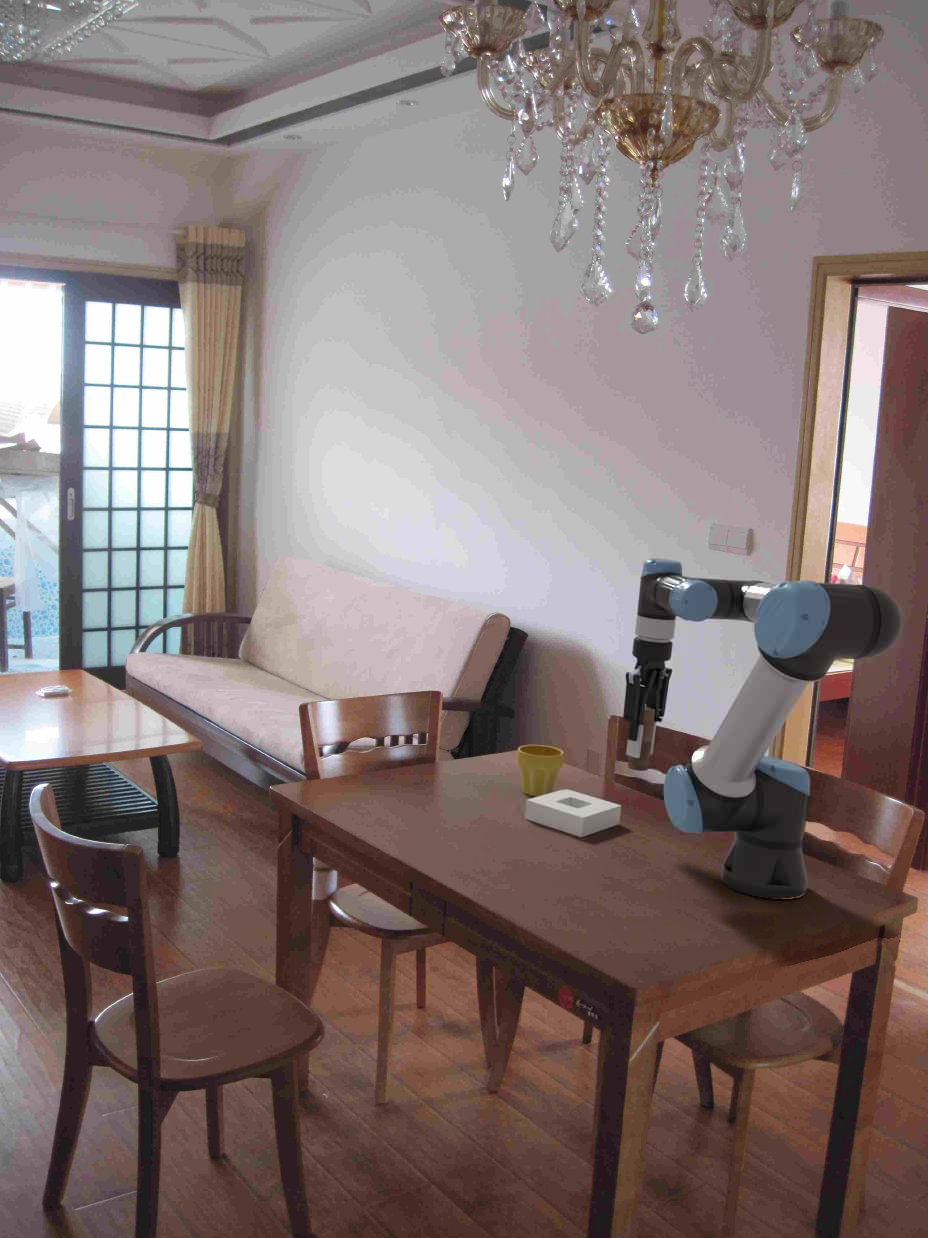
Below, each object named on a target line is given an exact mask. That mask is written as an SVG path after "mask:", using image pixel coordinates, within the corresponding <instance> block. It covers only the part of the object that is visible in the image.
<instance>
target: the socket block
mask: <svg viewBox="0 0 928 1238" xmlns="http://www.w3.org/2000/svg"><path fill="white" fill-rule="evenodd" d="M621 811H622V805H621V804H618V803H614V802H611V801H608V800H605V799H602V798H601V799H600V798H598V797H594V796H592V795H588V794H584V793H581V792H578V791H574V790H572V789H568V788H564V789H559V790H556V791H553V793H549V794H545V795H542V796H538V797H537V796H534V797H532V798H528V799H526V803H525V813H524V820H527V821H531V822H534V823H537V824H540V825H543V826H545V827H549V828H552V829H555V830H558V831H561V832H564V833H567V834H569V835H573V836H577V837H579V838H582V837H586V836H589V835H592V834H595V833H597V832H598V833H599V832H600V831H602V830H603V831H604V830H607V829H610V828H612V827H615V826H618V825H620V821H621V820H620V819H621Z"/></svg>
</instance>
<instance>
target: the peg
mask: <svg viewBox="0 0 928 1238" xmlns="http://www.w3.org/2000/svg"><path fill="white" fill-rule="evenodd" d="M654 716H655V709H653V708H649V707H646V706H645V709H644V714H643V718H642V722H641V725H644V727H643V735H642V743H641V751H640V758H635V757H632V756H629V755H628V761H627V768H628V769H630V770H632V771H639V772H645V771H648V769H649V763H650V756H651V755H650V748H651V740H652V732H653V724H654Z"/></svg>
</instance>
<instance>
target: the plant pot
mask: <svg viewBox="0 0 928 1238" xmlns="http://www.w3.org/2000/svg"><path fill="white" fill-rule="evenodd" d="M516 751H517V752H516V763H517V765H519V766H518V767H519V774H520V779H521V788H522V789H521V790H522V792H523V793H524V794H525V795H528V796H532V797H538V796H542V795H545V794H549V793H553V792H554V789H555V785H556V782H557V779H558V775H559V772H560V769H562V768H563V766H564V759H565V758H564V757H565V753H564V750H562V749H561V748H558V747H555V746H552V745H551V746H550V745H543V744H542V745H541V744H524V745H520V746H519V747H518V748H517V750H516Z"/></svg>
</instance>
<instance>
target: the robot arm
mask: <svg viewBox="0 0 928 1238" xmlns="http://www.w3.org/2000/svg"><path fill="white" fill-rule="evenodd" d="M638 592H639V593H638V601H637V613H636V615H637V616H636V619H635V630H634V634H635V637H633V638H634V639H633V643H632V653H631V654H632V656H633V657H635V658H636V663H635V665H634V669H633V671H632V672H630V671H627V672H626V673H625V683H626V685H625V694H624V704H623V706H624V707H623V714H622V721H624V723H628V724H629V726H628V733H627V735H628V736H627V745H626V751H625V752H626V753H625V755H626V756H628V757H629V756H632V757H635V758H640V751H641V743H642V735H643V727H644V725H641V722H642V718H643V714H644V709H645V707H649V708H653V709H655V716H654V724H653V732H652V740H651V748H650V756H651V755H653V753H654V746H655V738H656V737H655V735H656V729H657V722H658V723H662V722H663V719H664V716H665V713H666V705H667V701H668V700H667V699H668V692H669V686H670V685H669V684H670V680H671V677H672V674H673V668H669V667H666V662H669V661H670V660H671V658H672V653H673V652H672V651H673V644H674V643H673V642H672V641H671V640H673V639H674V637H675V630H676V621H677V619H676V618H677V617H678V618H680V619H682V620H684V621H687V622H688V621H691V622H695V623H696V622H697V623H698V622H703V621H705V620H731V621H732V620H733V621H743V622H749V623H753V631H754V638H755V641H756V646H757V651H758V653H759V657H758V659H757V661H756V662H755V664H754V666H753V668H752V669H751V671H750V673H749V674H748V676H747V678H746V680H745V681H744V683H743V685H742V686H741V688H740V690H739V692H738V694H737V696H736V697H735V699H734V701H733V703H732V704H731V706H730V708H729V710H728V711H727V713H726V715H725V717H724V719H723V720H722V722H721V724H720V725H719V727H718V729H717V731H716V732H715V734H714V736H713V738H712V739H711V741H710V743H709V745H708V744H707V745H702V746H701V747H699V748H698V749H697V750H695V751H694V753H693V755H692V757H691V758H690V759H689V762H688V763H687V764H686V765H682V764H677V765H674V766H671V767H670V768H668V770H667V772H666V774H665V777H664V781H663V796H664V799H663V801H664V805H665V809H666V813H667V815H668V817H669V820H670V822H671V824H672V825H673V826H674V827H675V829H676V830H679V831H681V832H683V833H687V834H689V833H691V834H692V833H693V834H698V835H700V834H709V833H710V834H711V833H735V832H736V833H735V839H734V840H733V843H732V844H731V847H730V849H729V851H728V853H727V856H726V857H725V859H724V861H723V863H722V867H721V875H720V879H721V881H722V883H723V884H725V885H726V886H727V887H729V888H730V889H733V890H735V891H737V892H739V893H741V892H742V894H744V893H745V894H744V895H748V894H749V895H748V896H751V895H753V896H752V897H755V896H758V897H757V898H760V897H766V898H778V899H780V898H781V899H782V898H791V897H797V896H800V895H802V894H803V893H805V892H806V893H807V890H808V889H807V888H808V876H807V869H806V866H805V860H804V856H803V839H804V834H805V826H806V825H805V824H806V818H807V810H808V803H809V798H810V797H809V796H810V795H811V792H810V790H811V789H810V787H811V786H810V785H811V778H810V774H809V772H808V771H807V769H805V768H803V767H802V766H800V765H797V764H795V763H792V762H790V761H787V760H783V759H780V758H777V757H772V756H767V755H766V753H767V751H768V749H770V746H771V745H772V744H773V741H774V740H775V738H776V736H777V735H778V733H779V731H781V729H782V726H784V724H785V722H786V720H787V718H788V717H790V714H791V712H792V711H793V709H794V708H795V706H796V704H797V702H798V701H799V699H800V698H801V696H802V695H803V693H804V691H805V689H806V688H807V687H808V685H809V684H810V683H814V682H818V681H820V680H822V679H823V678H824V677H825V676H826V675H827V674H828V672H829V670H830V669H831V667H832V665H833V663H834V662H835V661H836V660H868V659H872V658H876V657H878V656H881V655H883V654H885V653H886V652H888V651H889V650H890V649H892V648H893V647H894V646H895V644H896V643H897V641H898V640H899V638H900V636H901V634H902V631H903V627H904V625H903V624H904V619H903V612H902V609H901V607H900V605H899V603H898V602H897V600H896V599H895V597H893V596H892V594H890V593H888V592H887V591H885V590H883V589H882V588H879V587H876V586H873V585H870V584H869V585H868V584H854V583H853V584H851V583H831V582H816V581H813V580H806V579H805V580H803V579H802V580H798V581H797V580H796V581H783V582H780V583H778V584H775V583H771V582H767V581H761V580H737V579H735V580H734V579H720V578H718V579H717V578H704V577H703V578H702V577H701V578H700V577H689V576H685V575H683V565H682V563H681V562H680V561H678V560H673V559H666V558H657V557H656V558H653V557H652V558H647V559H646V560H644V562H643V566H642V572H641V576H640V583H639V591H638ZM806 889H807V890H806Z"/></svg>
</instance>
